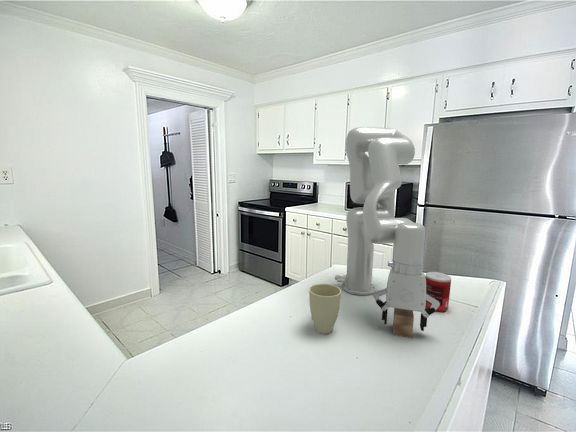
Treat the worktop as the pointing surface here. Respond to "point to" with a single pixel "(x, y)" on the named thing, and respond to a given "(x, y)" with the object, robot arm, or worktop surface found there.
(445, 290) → the canned food
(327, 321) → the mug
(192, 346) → the worktop surface
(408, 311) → the walnut block
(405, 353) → the worktop surface
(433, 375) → the worktop surface
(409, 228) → the robot arm
